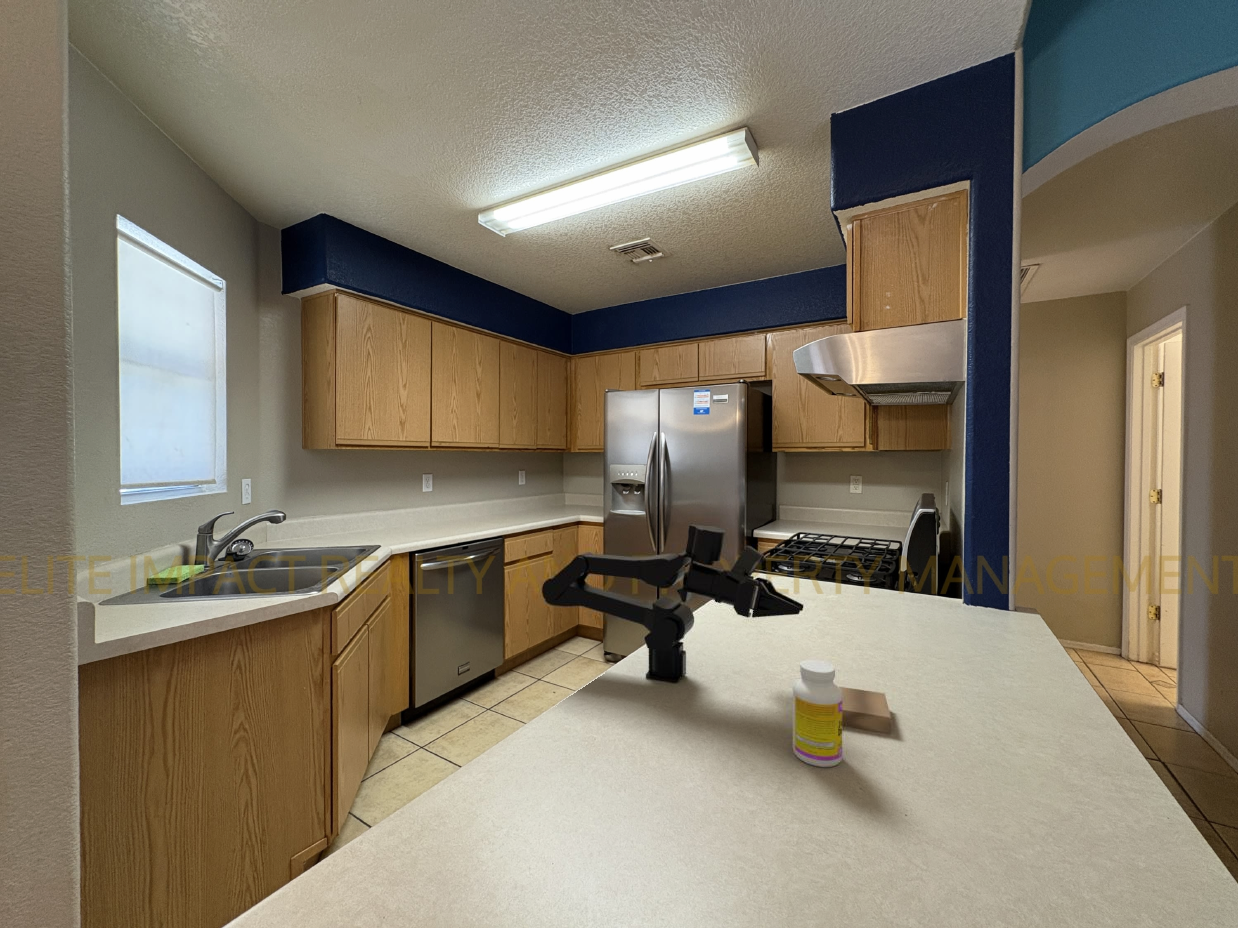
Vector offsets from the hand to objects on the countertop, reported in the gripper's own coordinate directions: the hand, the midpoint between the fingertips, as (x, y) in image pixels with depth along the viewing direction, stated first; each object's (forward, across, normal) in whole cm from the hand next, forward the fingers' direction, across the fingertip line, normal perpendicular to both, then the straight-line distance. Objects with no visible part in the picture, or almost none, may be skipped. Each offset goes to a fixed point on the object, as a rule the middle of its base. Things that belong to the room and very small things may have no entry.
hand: (801, 609), depth 92 cm
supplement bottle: (+7, -14, +18) cm, 24 cm away
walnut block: (+12, +1, +14) cm, 18 cm away
